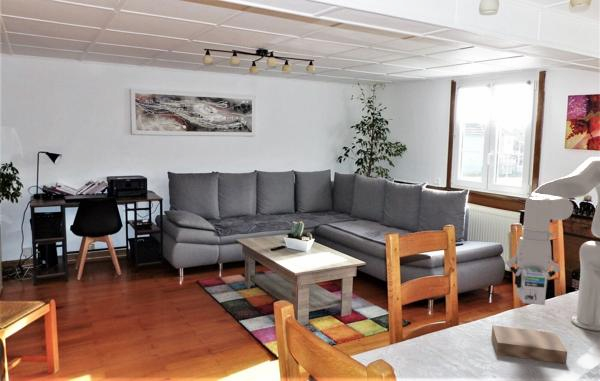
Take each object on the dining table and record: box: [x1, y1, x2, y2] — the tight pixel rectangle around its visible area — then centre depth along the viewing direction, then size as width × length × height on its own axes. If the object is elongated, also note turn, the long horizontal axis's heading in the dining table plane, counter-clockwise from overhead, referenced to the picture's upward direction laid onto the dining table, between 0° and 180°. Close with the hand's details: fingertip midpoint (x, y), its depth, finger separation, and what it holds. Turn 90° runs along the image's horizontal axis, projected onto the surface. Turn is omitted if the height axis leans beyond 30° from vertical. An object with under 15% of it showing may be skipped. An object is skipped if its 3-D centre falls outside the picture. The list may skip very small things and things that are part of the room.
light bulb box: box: [515, 268, 548, 306], centre depth 153 cm, size 11×7×11 cm, turn 167°
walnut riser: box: [491, 325, 568, 365], centre depth 153 cm, size 20×14×4 cm
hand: (530, 287), depth 153 cm, fingers closed on light bulb box, 7 cm apart
